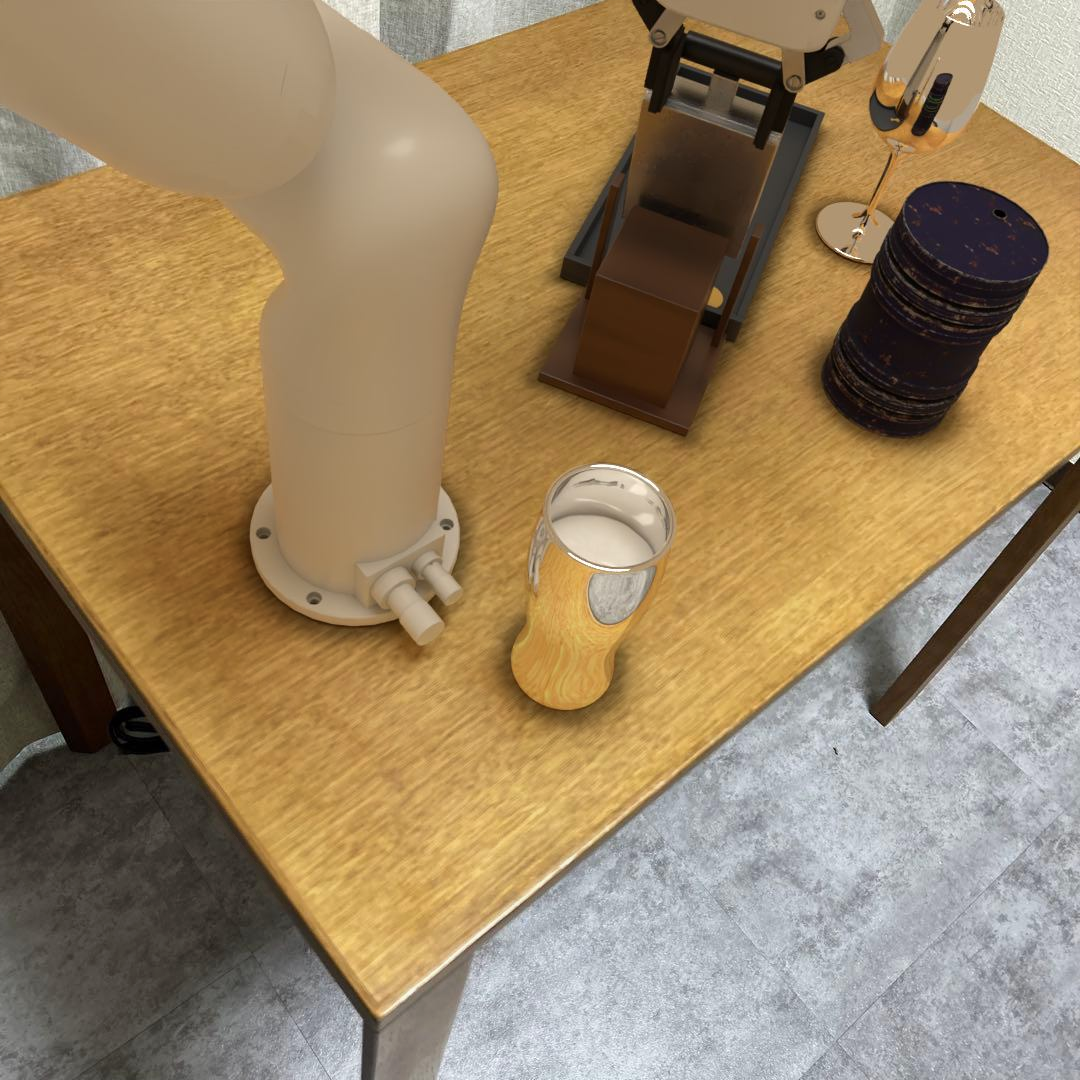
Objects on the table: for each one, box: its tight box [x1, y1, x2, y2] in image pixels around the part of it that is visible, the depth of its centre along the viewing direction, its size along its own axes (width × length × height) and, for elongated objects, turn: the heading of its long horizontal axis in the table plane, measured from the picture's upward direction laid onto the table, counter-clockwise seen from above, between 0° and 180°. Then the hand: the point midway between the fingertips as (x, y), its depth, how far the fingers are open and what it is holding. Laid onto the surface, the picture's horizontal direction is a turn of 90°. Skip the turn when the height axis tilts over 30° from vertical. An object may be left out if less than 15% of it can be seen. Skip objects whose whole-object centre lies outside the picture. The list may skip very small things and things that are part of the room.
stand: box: [537, 172, 765, 437], centre depth 76 cm, size 10×11×11 cm
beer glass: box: [510, 461, 678, 711], centre depth 59 cm, size 7×7×15 cm
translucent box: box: [621, 29, 787, 259], centre depth 71 cm, size 14×9×4 cm
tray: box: [559, 61, 826, 343], centre depth 92 cm, size 30×14×2 cm, turn 159°
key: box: [707, 287, 723, 309], centre depth 85 cm, size 7×3×1 cm, turn 5°
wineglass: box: [815, 0, 1006, 265], centre depth 85 cm, size 8×8×20 cm
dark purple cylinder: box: [820, 180, 1050, 439], centre depth 77 cm, size 10×10×15 cm
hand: (711, 116), depth 66 cm, fingers closed on translucent box, 5 cm apart
